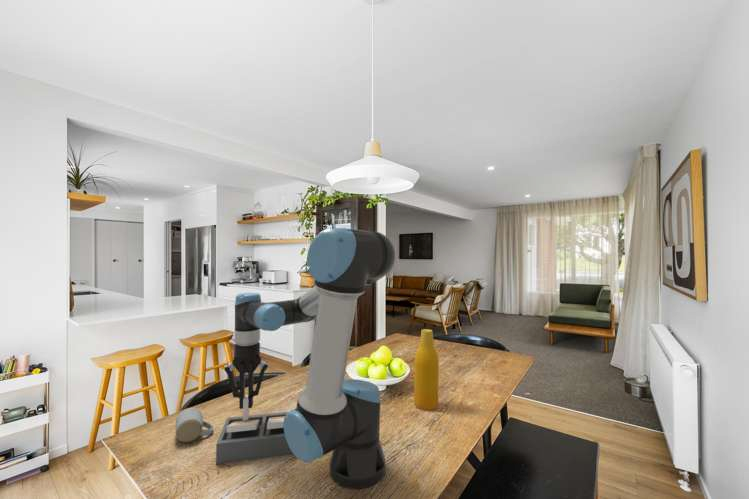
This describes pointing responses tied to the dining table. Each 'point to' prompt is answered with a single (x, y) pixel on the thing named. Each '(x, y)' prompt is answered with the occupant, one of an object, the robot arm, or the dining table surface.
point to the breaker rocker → (243, 426)
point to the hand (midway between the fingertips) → (246, 418)
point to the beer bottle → (426, 373)
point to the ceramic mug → (191, 425)
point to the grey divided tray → (253, 440)
